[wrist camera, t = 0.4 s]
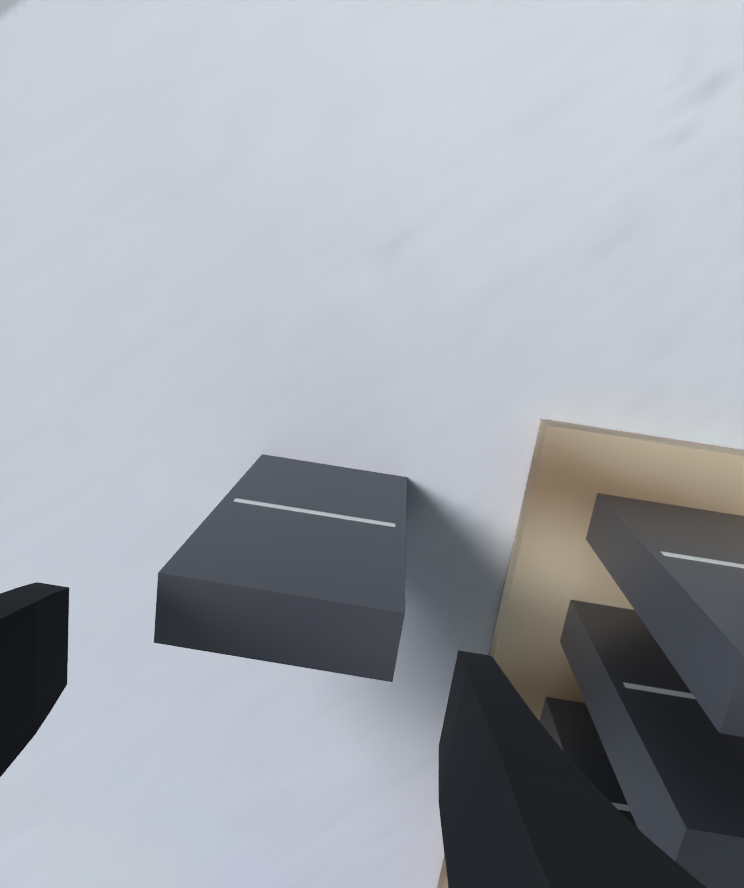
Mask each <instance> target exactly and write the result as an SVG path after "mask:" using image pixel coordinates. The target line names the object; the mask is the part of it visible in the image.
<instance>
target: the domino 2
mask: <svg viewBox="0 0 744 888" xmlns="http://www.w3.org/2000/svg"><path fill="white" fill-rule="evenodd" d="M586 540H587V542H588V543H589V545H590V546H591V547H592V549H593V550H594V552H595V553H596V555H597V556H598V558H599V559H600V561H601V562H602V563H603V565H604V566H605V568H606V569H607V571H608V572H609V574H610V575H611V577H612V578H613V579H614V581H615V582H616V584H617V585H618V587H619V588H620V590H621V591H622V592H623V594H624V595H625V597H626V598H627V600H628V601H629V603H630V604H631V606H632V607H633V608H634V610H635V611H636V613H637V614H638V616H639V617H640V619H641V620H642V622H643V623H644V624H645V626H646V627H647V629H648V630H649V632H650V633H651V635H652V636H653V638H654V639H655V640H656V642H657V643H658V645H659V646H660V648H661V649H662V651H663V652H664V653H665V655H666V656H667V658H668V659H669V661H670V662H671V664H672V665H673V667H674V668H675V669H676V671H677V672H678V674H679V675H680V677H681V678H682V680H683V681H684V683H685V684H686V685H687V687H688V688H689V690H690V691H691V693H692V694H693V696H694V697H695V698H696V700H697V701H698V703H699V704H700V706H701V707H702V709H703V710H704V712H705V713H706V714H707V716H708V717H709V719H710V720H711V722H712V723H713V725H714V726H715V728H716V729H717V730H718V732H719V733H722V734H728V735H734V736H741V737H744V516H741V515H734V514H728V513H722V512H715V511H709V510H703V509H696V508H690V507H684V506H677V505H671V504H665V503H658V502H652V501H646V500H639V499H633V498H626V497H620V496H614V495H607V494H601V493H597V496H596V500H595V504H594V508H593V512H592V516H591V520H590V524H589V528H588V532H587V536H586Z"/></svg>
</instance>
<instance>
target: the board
mask: <svg viewBox="0 0 744 888" xmlns="http://www.w3.org/2000/svg"><path fill="white" fill-rule="evenodd" d="M597 493H601V494H607V495H614V496H620V497H626V498H633V499H639V500H646V501H652V502H658V503H665V504H671V505H677V506H684V507H690V508H696V509H703V510H709V511H715V512H722V513H728V514H734V515H741V516H744V450H738V449H732V448H726V447H719V446H713V445H706V444H700V443H693V442H687V441H680V440H674V439H668V438H661V437H655V436H648V435H642V434H635V433H629V432H622V431H616V430H610V429H603V428H597V427H590V426H584V425H577V424H571V423H564V422H558V421H552V420H545V419H541V422H540V427H539V431H538V436H537V440H536V445H535V449H534V454H533V459H532V463H531V468H530V472H529V477H528V481H527V486H526V490H525V495H524V499H523V504H522V508H521V513H520V517H519V522H518V526H517V531H516V535H515V540H514V544H513V549H512V553H511V558H510V562H509V567H508V571H507V576H506V580H505V585H504V589H503V594H502V598H501V603H500V608H499V612H498V617H497V621H496V626H495V630H494V635H493V639H492V644H491V648H490V653H489V656H492V657H493V658H494V660H495V661H496V662H497V664H498V665H499V667H500V668H501V669H502V671H503V672H504V674H505V675H506V676H507V678H508V679H509V681H510V682H511V684H512V685H513V686H514V688H515V689H516V691H517V692H518V693H519V695H520V696H521V697H522V699H523V700H524V702H525V703H526V704H527V706H528V707H529V708H530V710H531V711H532V712H533V714H534V715H535V716H536V717H537V719H538V720H539V721H540V717H541V714H542V710H543V706H544V702H545V698H546V697H551V698H557V699H563V700H569V701H575V702H581V703H585V701H584V698H583V696H582V694H581V691H580V689H579V686H578V684H577V682H576V679H575V677H574V674H573V672H572V670H571V667H570V665H569V662H568V660H567V658H566V655H565V653H564V650H563V648H562V646H561V643H560V639H561V635H562V631H563V627H564V623H565V619H566V615H567V611H568V607H569V603H570V600H576V601H583V602H589V603H595V604H601V605H607V606H613V607H620V608H626V609H632V610H634V608H633V607H632V606H631V604H630V603H629V601H628V600H627V598H626V597H625V595H624V594H623V592H622V591H621V590H620V588H619V587H618V585H617V584H616V582H615V581H614V579H613V578H612V577H611V575H610V574H609V572H608V571H607V569H606V568H605V566H604V565H603V563H602V562H601V561H600V559H599V558H598V556H597V555H596V553H595V552H594V550H593V549H592V547H591V546H590V545H589V543H588V542H587V540H586V536H587V532H588V528H589V524H590V520H591V516H592V512H593V508H594V504H595V500H596V496H597ZM437 888H448V880H447V871H446V862H445V856H444V860H443V865H442V869H441V874H440V878H439V883H438V887H437Z"/></svg>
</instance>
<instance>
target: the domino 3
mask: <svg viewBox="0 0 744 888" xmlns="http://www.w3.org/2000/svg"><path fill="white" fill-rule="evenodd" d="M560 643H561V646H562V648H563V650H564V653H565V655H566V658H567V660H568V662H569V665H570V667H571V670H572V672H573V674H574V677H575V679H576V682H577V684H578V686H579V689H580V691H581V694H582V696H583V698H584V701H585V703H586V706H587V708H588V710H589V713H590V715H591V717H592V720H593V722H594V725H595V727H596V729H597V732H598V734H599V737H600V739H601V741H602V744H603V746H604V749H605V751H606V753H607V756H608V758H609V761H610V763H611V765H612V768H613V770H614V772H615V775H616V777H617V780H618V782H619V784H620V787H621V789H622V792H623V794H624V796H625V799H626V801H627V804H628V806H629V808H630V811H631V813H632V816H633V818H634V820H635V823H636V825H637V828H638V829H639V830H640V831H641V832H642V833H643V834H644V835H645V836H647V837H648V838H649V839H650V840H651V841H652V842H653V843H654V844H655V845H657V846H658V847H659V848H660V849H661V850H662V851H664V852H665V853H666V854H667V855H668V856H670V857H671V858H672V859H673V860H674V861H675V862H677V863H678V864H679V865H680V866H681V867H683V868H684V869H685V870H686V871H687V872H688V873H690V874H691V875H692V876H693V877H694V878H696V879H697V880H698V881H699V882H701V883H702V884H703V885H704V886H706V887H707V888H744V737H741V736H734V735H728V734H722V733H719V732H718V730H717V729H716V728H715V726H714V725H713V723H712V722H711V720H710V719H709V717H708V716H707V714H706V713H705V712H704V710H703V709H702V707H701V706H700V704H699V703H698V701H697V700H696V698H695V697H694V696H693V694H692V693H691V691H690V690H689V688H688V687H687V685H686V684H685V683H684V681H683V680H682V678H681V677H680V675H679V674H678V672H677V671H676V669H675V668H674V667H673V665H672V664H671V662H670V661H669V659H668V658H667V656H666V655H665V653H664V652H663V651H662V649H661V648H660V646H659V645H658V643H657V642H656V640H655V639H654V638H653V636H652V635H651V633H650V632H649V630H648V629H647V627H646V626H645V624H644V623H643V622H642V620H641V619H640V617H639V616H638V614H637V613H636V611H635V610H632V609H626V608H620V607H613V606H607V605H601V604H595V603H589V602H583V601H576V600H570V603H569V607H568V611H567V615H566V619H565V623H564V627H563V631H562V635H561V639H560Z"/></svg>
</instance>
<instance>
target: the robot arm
mask: <svg viewBox="0 0 744 888" xmlns="http://www.w3.org/2000/svg"><path fill="white" fill-rule="evenodd" d="M68 614H69V588H68V587H62V586H56V585H50V584H43V583H33V584H29V585H25V586H22V587H19V588H16V589H13V590H10V591H7V592H4V593H1V594H0V777H1V776H2V774H3V773H4V772H5V771H6V769H7V768H8V767H9V766H10V765H11V763H12V762H13V761H14V760H15V759H16V757H17V756H18V755H19V754H20V752H21V751H22V750H23V749H24V748H25V746H26V745H27V744H28V743H29V741H30V740H31V739H32V738H33V736H34V735H35V734H36V732H37V731H38V729H39V728H40V726H41V725H42V723H43V722H44V720H45V719H46V717H47V716H48V714H49V713H50V711H51V709H52V708H53V706H54V704H55V703H56V701H57V700H58V698H59V696H60V695H61V693H62V691H63V690H64V688H65V687H66V685H67V662H68ZM439 808H440V817H441V827H442V836H443V845H444V854H445V862H446V871H447V880H448V888H707V887H706V886H704V885H703V884H702V883H701V882H699V881H698V880H697V879H696V878H694V877H693V876H692V875H691V874H690V873H688V872H687V871H686V870H685V869H684V868H683V867H681V866H680V865H679V864H678V863H677V862H675V861H674V860H673V859H672V858H671V857H670V856H668V855H667V854H666V853H665V852H664V851H662V850H661V849H660V848H659V847H658V846H657V845H655V844H654V843H653V842H652V841H651V840H650V839H649V838H648V837H647V836H645V835H644V834H643V833H642V832H641V831H640V830H639V829H638V828H637V827H636V826H635V825H633V824H632V823H631V822H630V821H629V820H628V819H627V818H626V817H625V816H624V815H623V814H622V813H621V812H620V811H619V810H618V809H617V808H616V807H615V806H614V805H613V804H612V803H611V802H610V801H609V800H608V799H607V798H606V797H605V796H604V795H603V794H602V793H601V792H600V791H599V790H598V789H597V788H596V787H595V786H594V785H593V784H592V783H591V782H590V780H589V779H588V778H587V777H586V776H585V775H584V774H583V773H582V771H581V770H580V769H579V768H578V767H577V766H576V765H575V764H574V762H573V761H572V760H571V759H570V758H569V757H568V756H567V754H566V753H565V752H564V751H563V750H562V749H561V747H560V746H559V745H558V744H557V743H556V741H555V740H554V739H553V738H552V737H551V735H550V734H549V733H548V732H547V730H546V729H545V728H544V727H543V725H542V724H541V723H540V721H539V720H538V719H537V717H536V716H535V715H534V714H533V712H532V711H531V710H530V708H529V707H528V706H527V704H526V703H525V702H524V700H523V699H522V697H521V696H520V695H519V693H518V692H517V691H516V689H515V688H514V686H513V685H512V684H511V682H510V681H509V679H508V678H507V676H506V675H505V674H504V672H503V671H502V669H501V668H500V667H499V665H498V664H497V662H496V661H495V660H494V658H493V657H492V656H488V655H482V654H476V653H470V652H463V651H458V654H457V659H456V664H455V669H454V674H453V679H452V684H451V689H450V694H449V699H448V704H447V708H446V713H445V718H444V723H443V728H442V733H441V738H440V743H439Z"/></svg>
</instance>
